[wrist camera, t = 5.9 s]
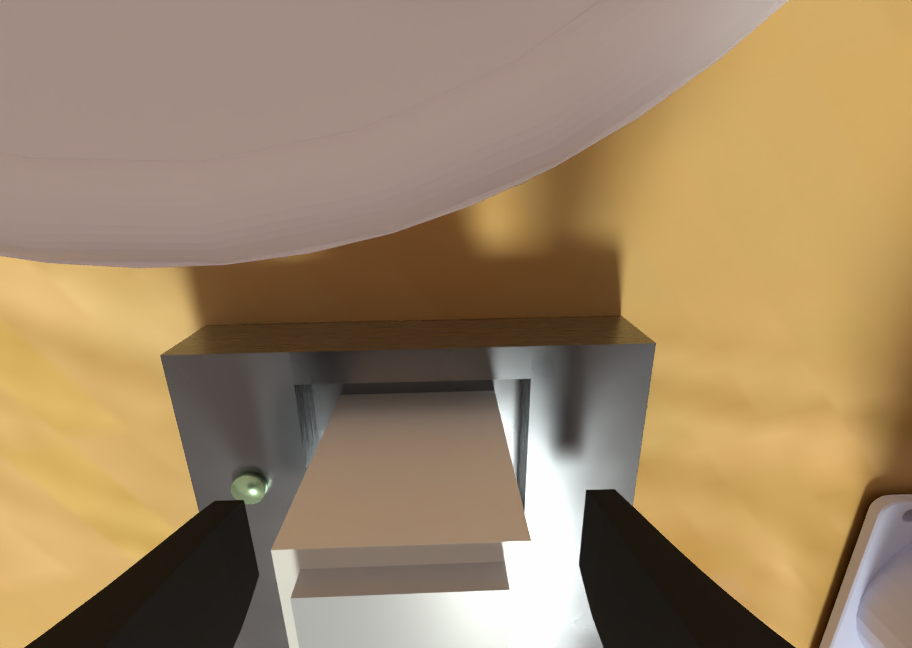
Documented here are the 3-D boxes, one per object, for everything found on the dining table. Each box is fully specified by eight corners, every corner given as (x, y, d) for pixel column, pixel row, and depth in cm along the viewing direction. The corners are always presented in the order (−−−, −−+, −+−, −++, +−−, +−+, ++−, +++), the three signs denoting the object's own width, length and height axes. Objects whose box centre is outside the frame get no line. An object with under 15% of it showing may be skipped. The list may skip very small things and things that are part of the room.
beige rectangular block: (494, 390, 12) (538, 568, 6) (492, 513, 13) (527, 744, 8) (340, 394, 12) (257, 578, 6) (354, 518, 13) (294, 756, 8)
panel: (621, 316, 12) (660, 346, 10) (579, 693, 17) (598, 767, 15) (205, 325, 12) (155, 359, 10) (285, 706, 16) (262, 784, 14)
